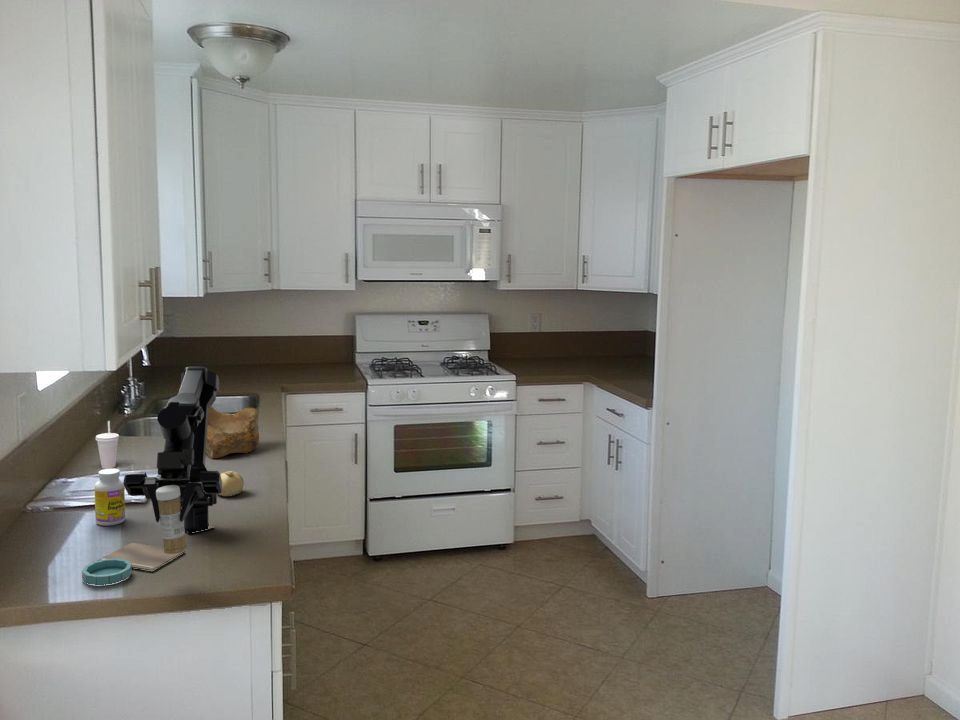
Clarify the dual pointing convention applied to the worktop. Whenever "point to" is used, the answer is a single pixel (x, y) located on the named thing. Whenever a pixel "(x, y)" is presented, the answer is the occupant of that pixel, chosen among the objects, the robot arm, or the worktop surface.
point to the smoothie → (107, 448)
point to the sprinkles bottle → (171, 519)
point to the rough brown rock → (231, 432)
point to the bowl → (106, 571)
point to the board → (142, 555)
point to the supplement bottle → (109, 498)
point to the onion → (231, 483)
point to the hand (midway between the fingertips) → (169, 521)
